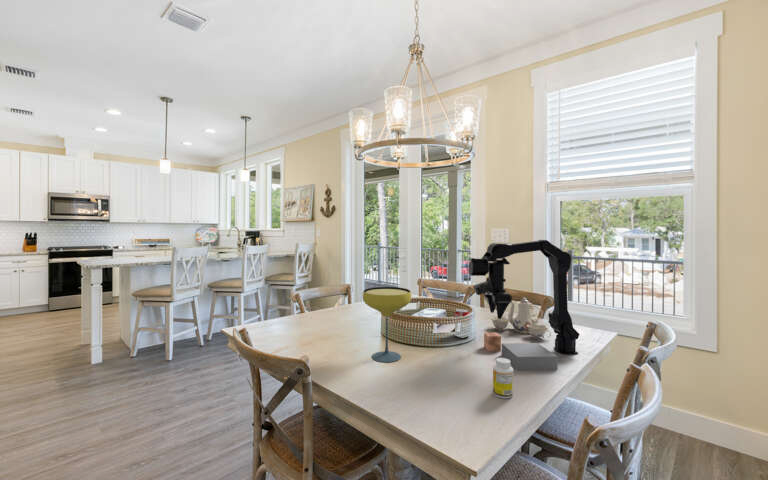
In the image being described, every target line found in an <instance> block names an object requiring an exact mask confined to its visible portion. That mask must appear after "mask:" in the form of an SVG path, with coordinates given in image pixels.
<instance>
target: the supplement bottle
mask: <svg viewBox="0 0 768 480" xmlns="http://www.w3.org/2000/svg"><path fill="white" fill-rule="evenodd" d="M492 370H493V371H492V392H493V394H494V396H495V397H496V398H497V397H498V398H499V399H504V400H505V399H511V398H512V397H513V395H514V367H513V366H512V365H511V364H510V360H509V359H506V358H504V357H497V358H496V359H495V364H494V365H493V369H492Z"/></svg>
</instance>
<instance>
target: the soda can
mask: <svg viewBox="0 0 768 480" xmlns="http://www.w3.org/2000/svg"><path fill="white" fill-rule="evenodd" d="M467 314H470V312H469V310H468V309H465V308H456V309H454V313H453V318H454V317H460V316H465V315H467Z"/></svg>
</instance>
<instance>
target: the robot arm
mask: <svg viewBox="0 0 768 480" xmlns="http://www.w3.org/2000/svg"><path fill="white" fill-rule="evenodd" d="M538 251H540V252H541V253H542V255H543V256H545V258H547V259H548V264H549V267H550V270H551V272H552V278H553V283H552V284H553V286H552V287H553V311H552V312H548V315H547V316H548V321H547V322H548V324H549V325H550V327H551V329H553V333H555V339H554V347H553V350H554V351H556V352H558V353H560V354H561V355H578V354H579V352H578V351H577V350H576V345H577V344H576V341H577V340H579V337H580V333H579V332H578V331H577V330H576V329H575V328H574V325H573V320H572V319H573V318H572V317H571V315H570V313H569V310H568V309H569V308H568V279H567V278H568V276H567V275H568V273H569V270H571V269H570V268H571V264H572V256H571V254H570V253H569V252H568V251H563V250H562V249H561V248H559V247H558V246H556V245H554V244H552V242H550V241H549V240H547V239H538V240H533V241H526V242H525V241H524V242H518V243H517V242H516V243H500V242H499V243H497V242H496V243H495V242H493V243H490V244H489V245H488V246H487V248H486V252H484V254H483V256H482V257H481V258H474V257H470V259H469V265H468V266H467V267H468V275H469V276H470V277H472V276H473V277H475V276H476V277H478V276H479V277H480V276H481V277H486V276H487V274H488V276H487V277H486V280H485V281H483V282H480V283H477V284H475V285H473V290H474V293H475V295H477V296H481V295H483V297H485V298H486V299H487V300H486V301H487V303H488V307H489V311H490V313H492V314H494V313H495V309H496V315H497V316H496V317H498V319H501V317H504V316H503V315H504V313H505V312H506V309H507V308H508V306H509V305H511V302H513V300H512V299H513V296H512V295H511V294H509V293H508V292H506V289H505V286H504V285H505V283H507V282H506V281H507V280H506V279H505V265H510V264H511V262H509V261H508V260H507V258H508V257H510V256H512V255H516V254H522V253H530V252H531V253H532V252H538Z"/></svg>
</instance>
